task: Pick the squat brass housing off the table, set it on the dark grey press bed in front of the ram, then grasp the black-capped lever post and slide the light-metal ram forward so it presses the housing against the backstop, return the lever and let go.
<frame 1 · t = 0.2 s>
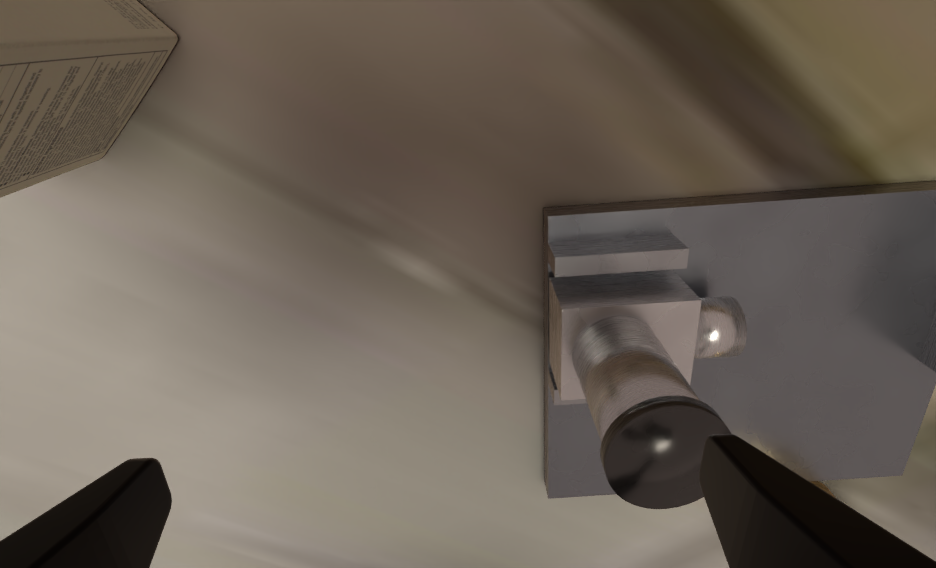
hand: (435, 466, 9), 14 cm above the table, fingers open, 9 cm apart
ram: (668, 372, 19), point 6 cm above the table, slide at 0.0 cm
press: (745, 347, 25), on the table
skincare box: (91, 65, 19), on the table
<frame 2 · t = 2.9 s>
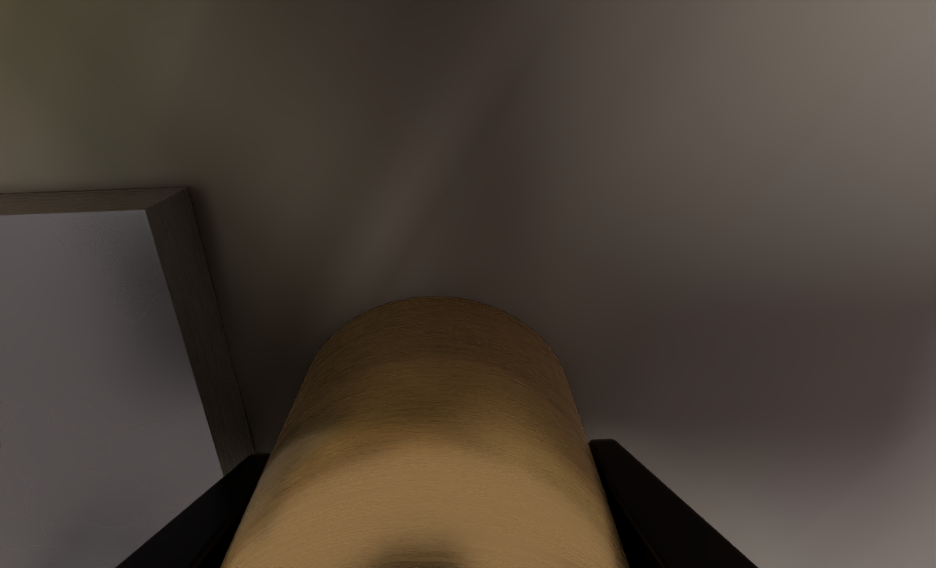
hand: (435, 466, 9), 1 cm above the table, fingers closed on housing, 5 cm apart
housing: (437, 417, 10), on the table, touching gripper
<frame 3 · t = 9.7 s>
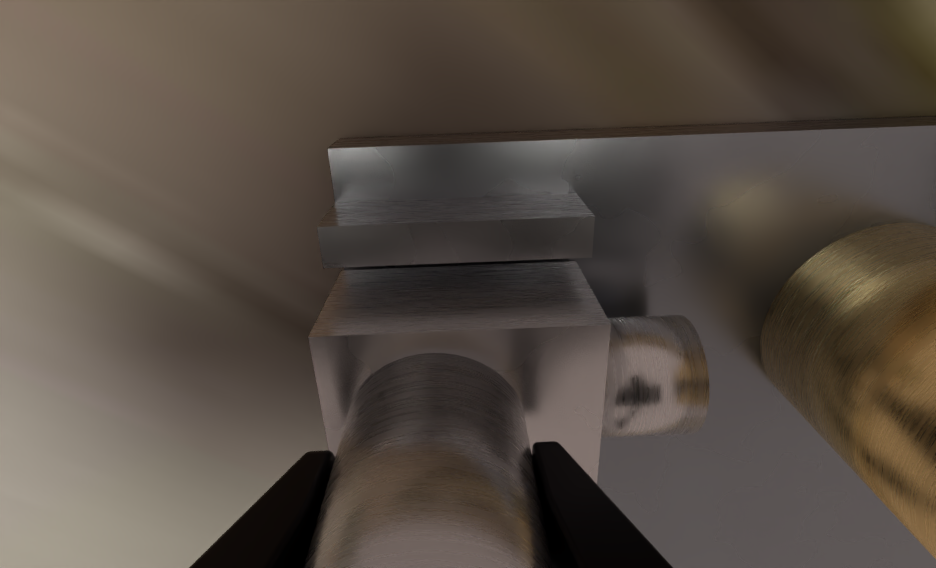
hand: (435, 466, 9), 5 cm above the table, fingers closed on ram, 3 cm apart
ram: (529, 483, 8), point 6 cm above the table, slide at 0.0 cm, touching gripper
housing: (867, 324, 12), point 1 cm above the table, touching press
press: (716, 401, 15), on the table
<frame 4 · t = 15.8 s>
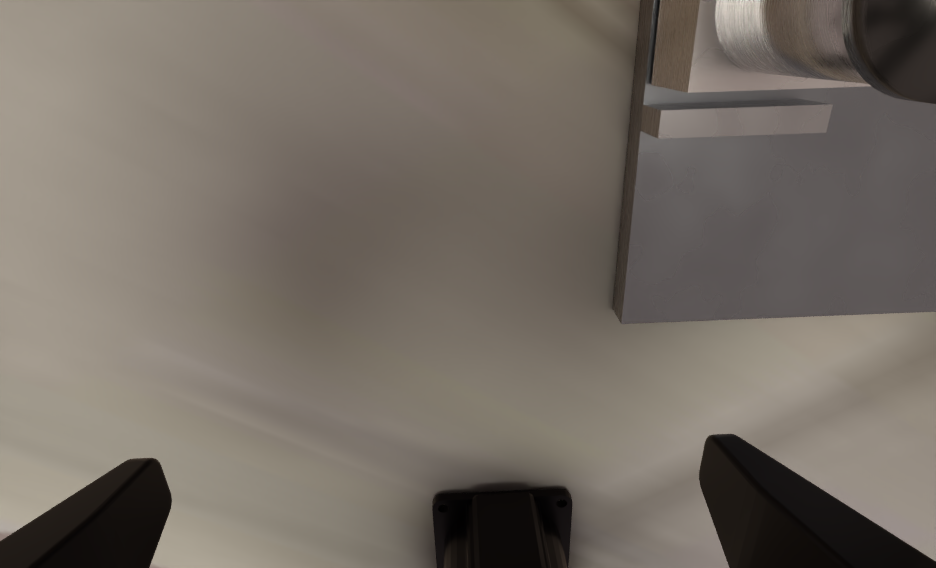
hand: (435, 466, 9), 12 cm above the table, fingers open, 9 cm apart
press: (907, 103, 18), on the table
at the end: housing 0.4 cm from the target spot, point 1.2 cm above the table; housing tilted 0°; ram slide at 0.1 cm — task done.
